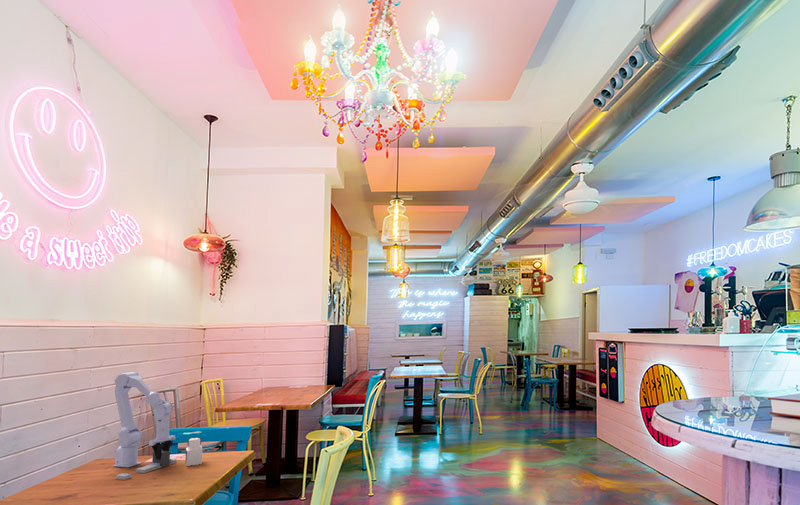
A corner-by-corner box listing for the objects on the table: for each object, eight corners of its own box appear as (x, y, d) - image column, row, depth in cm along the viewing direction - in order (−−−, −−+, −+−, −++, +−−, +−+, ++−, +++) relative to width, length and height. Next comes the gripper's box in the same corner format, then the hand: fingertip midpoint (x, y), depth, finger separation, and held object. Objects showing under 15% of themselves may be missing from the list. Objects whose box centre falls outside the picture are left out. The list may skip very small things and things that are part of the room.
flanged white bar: (115, 479, 217) (116, 474, 218) (168, 461, 245) (168, 457, 246) (124, 479, 216) (124, 474, 216) (176, 462, 244) (176, 457, 244)
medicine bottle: (185, 463, 242) (186, 437, 244) (201, 461, 245) (201, 435, 247) (185, 466, 236) (186, 440, 238) (202, 464, 239) (202, 438, 241)
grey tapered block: (152, 465, 238) (152, 452, 239) (158, 463, 241) (158, 450, 242) (163, 466, 235) (164, 453, 236) (169, 464, 239) (170, 451, 240)
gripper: (157, 432, 233) (156, 462, 231) (180, 426, 246) (179, 455, 244) (146, 431, 235) (144, 461, 233) (169, 425, 248) (168, 454, 246)
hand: (161, 458), depth 239 cm, fingers closed on grey tapered block, 4 cm apart
